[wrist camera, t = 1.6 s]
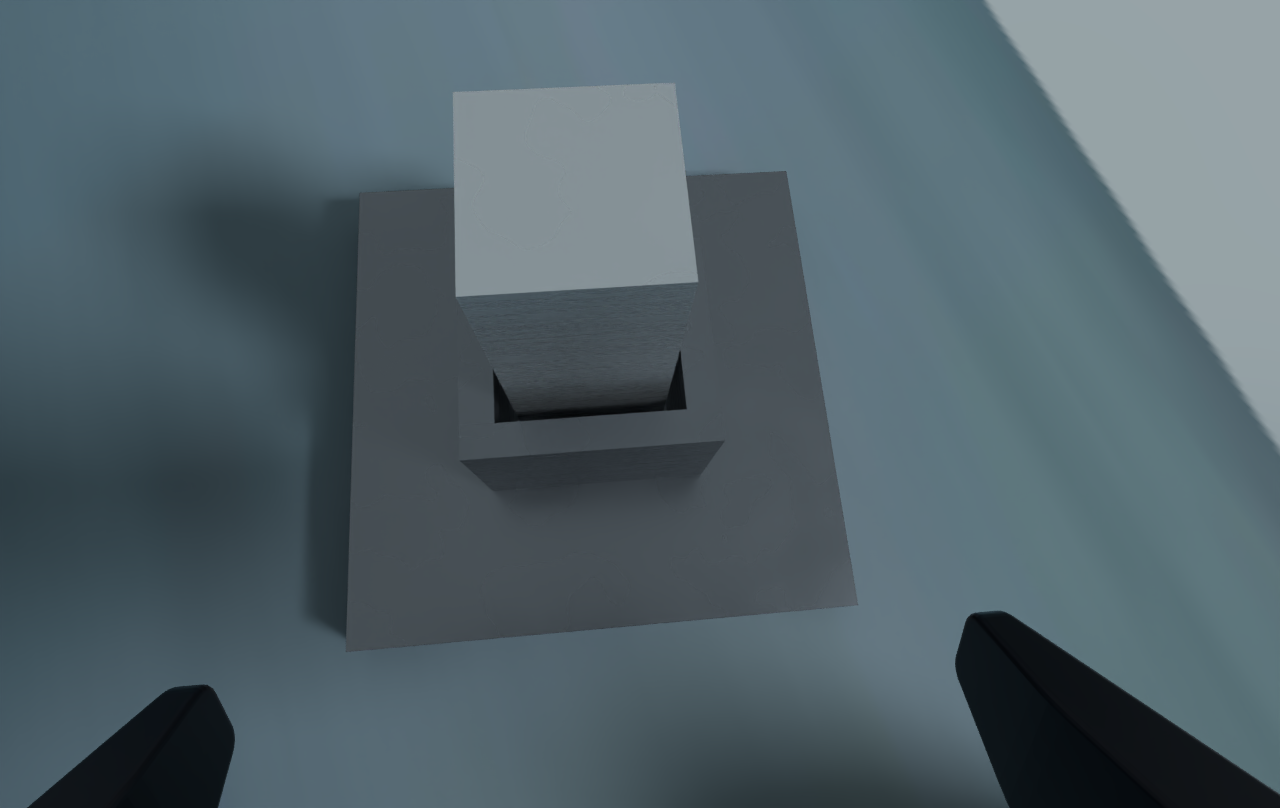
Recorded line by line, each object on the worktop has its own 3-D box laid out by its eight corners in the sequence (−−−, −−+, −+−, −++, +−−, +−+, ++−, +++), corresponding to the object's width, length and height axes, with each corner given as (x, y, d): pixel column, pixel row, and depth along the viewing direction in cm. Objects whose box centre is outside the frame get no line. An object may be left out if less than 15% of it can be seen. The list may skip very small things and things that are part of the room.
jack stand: (840, 604, 20) (930, 607, 15) (365, 648, 20) (262, 668, 14) (775, 196, 24) (827, 71, 18) (375, 218, 23) (297, 93, 18)
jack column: (656, 436, 20) (698, 282, 10) (532, 445, 20) (455, 296, 10) (645, 319, 21) (673, 77, 11) (527, 327, 21) (453, 87, 11)
